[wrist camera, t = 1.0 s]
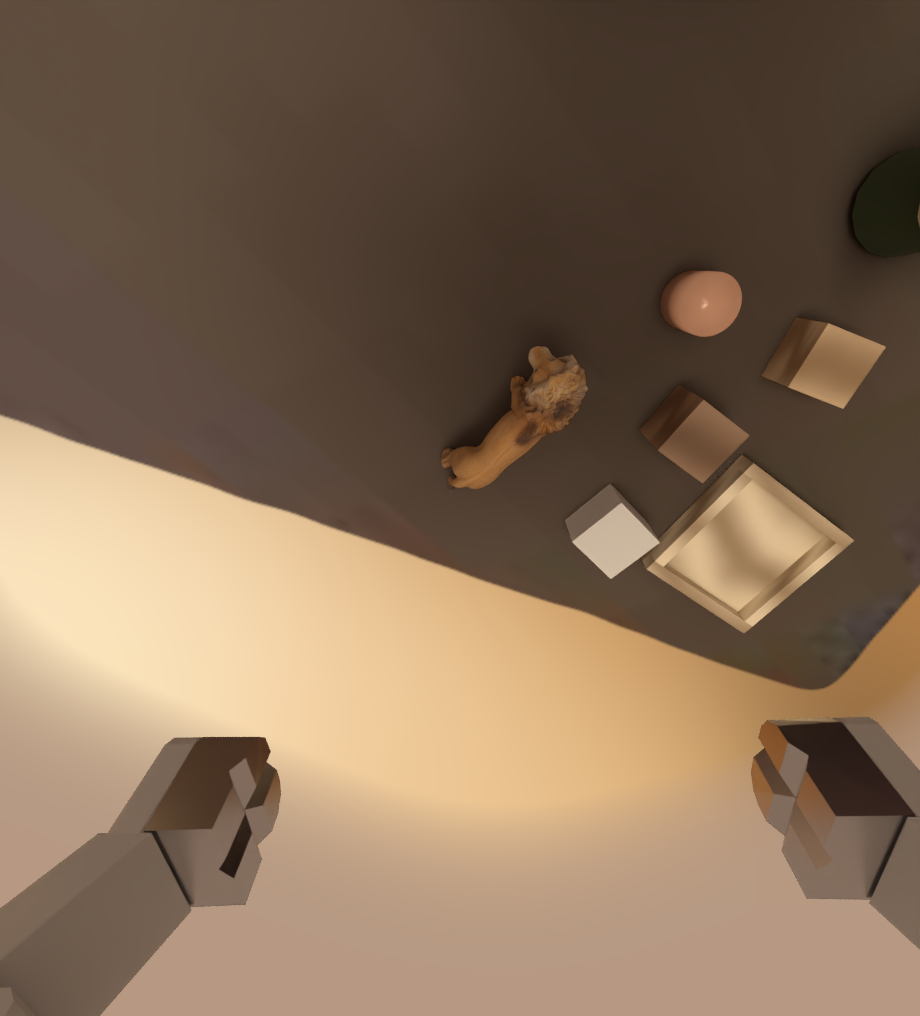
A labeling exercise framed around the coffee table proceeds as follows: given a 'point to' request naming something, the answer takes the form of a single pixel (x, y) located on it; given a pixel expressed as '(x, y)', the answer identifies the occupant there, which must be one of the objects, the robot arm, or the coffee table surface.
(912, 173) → the character mug
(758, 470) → the birch tray
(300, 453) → the coffee table surface
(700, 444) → the walnut block
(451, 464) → the lion figurine
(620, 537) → the white plastic block
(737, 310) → the pinkish tan rounded lump
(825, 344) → the oak block
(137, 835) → the robot arm
